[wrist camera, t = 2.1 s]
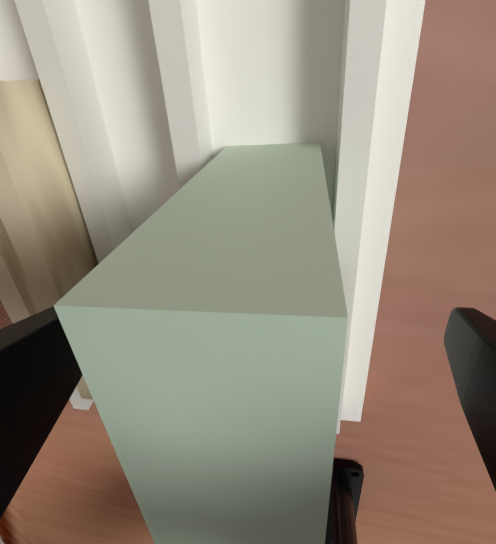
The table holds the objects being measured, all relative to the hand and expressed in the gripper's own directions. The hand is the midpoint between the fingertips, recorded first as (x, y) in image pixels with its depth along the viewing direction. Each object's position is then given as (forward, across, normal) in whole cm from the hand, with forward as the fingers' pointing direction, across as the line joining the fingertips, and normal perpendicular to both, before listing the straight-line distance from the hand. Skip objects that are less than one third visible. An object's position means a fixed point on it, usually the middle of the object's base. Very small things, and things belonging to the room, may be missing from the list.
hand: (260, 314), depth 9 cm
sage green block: (+5, 0, 0) cm, 5 cm away
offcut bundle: (+5, +8, 0) cm, 9 cm away
